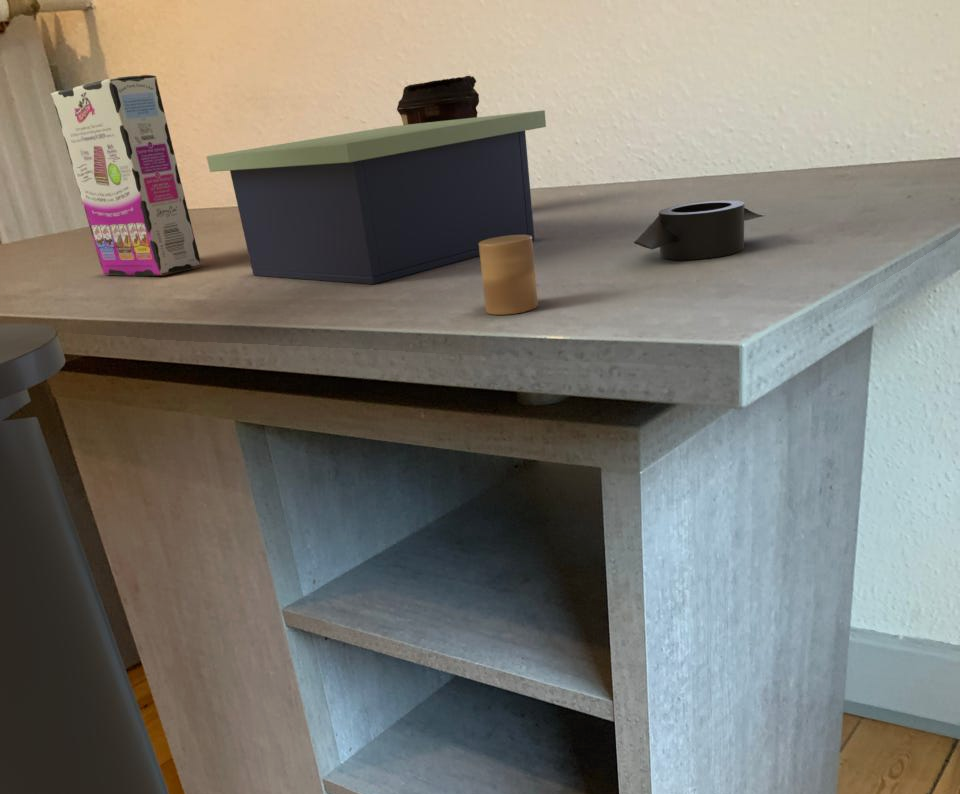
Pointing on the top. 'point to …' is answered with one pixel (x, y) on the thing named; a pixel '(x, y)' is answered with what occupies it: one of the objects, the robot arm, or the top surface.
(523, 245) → the cylinder
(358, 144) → the bin lid
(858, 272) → the top surface
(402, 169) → the bin
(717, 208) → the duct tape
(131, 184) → the candy bar box
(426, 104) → the dark brown block
